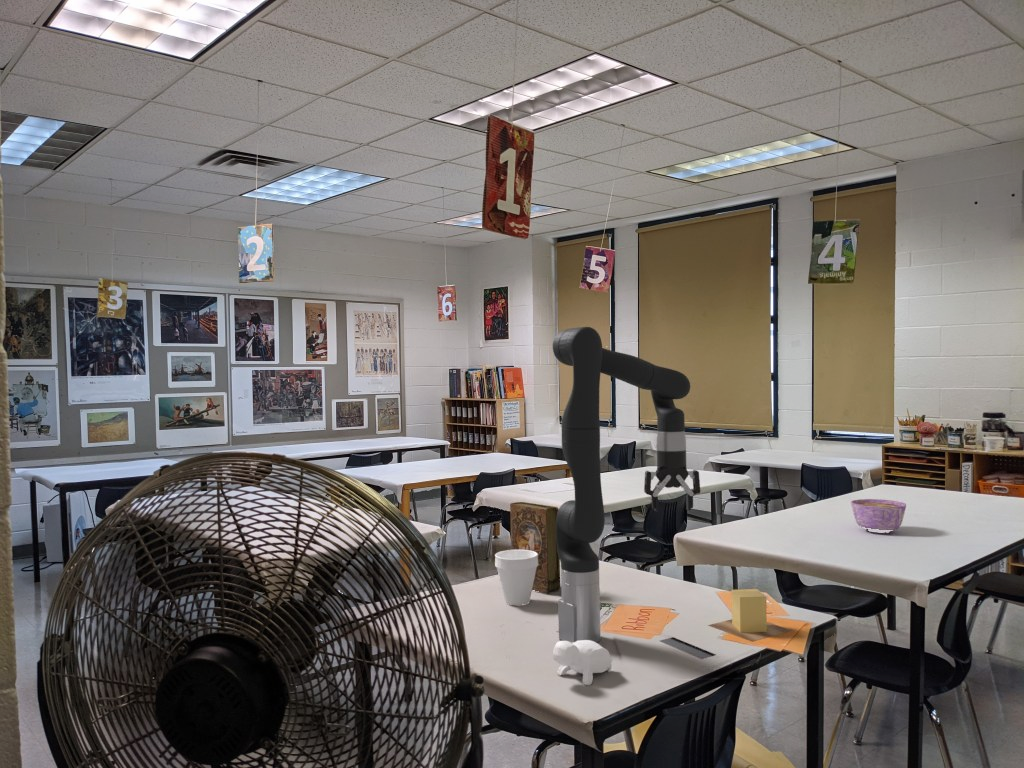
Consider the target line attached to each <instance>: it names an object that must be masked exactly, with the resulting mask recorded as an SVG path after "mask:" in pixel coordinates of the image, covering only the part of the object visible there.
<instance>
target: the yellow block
mask: <svg viewBox="0 0 1024 768" xmlns="http://www.w3.org/2000/svg"><path fill="white" fill-rule="evenodd" d="M767 614H768V613H767V596H766V595H765V594H764V593H762V592H761V591H760V590H759V589H758V588H755V589H753V588H752V589H750V588H749V589H747V588H746V589H731V619H732V624H733V625H734V626H735V627H736V628H737V629H738V630H739V631H740V632H767V622H768V619H767V616H768V615H767Z"/></svg>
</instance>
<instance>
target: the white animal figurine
mask: <svg viewBox="0 0 1024 768" xmlns="http://www.w3.org/2000/svg"><path fill="white" fill-rule="evenodd" d="M552 660H554V661H555V662H556V663H558V664H559V665H560V666H559V668H558V669H557V671H556V674H557V676H560V677H562V676H561V675H563V676H564V675H566V674H567V672H568V671H570V670H573V672H576V673H580V674H582V683H583V685H586V686H590V685H592V683H593V679H594V678H593V677H594V675H593V674H601V673H603V672H606V671H607V672H608V673H611V671H612V662H613V661H614V659H613V658H612V656H611V654H610V651H609V650H608V649H607V648H605V647H603V646H602V645H601V644H599V642H597V643H596V642H594V641H590V640H581V641H579V640H578V641H576V642H572V643H571V642H569V641H562V640H559V641H557V642H556V643H555V645H554V648H553V651H552Z"/></svg>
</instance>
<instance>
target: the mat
mask: <svg viewBox="0 0 1024 768" xmlns="http://www.w3.org/2000/svg"><path fill="white" fill-rule="evenodd" d="M659 642H661V643H663V644H665V645H668V646H670V647H672V648H675V649H677V650H680V651H682V652H684V653H686V654H689V655H691V656H694V657H695V658H698V659H701V660H703V659H707V658H710V657H714V656H717V654H716V653H713V652H711V651H708V650H706V649H703V648H700V647H698V646H696V645H693V644H691V643H689V642H685V641H684V640H681V639H679V638H676V637H674V636H672V637H669V638H668V637H667V638H665V639H661V640H659Z"/></svg>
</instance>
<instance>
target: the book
mask: <svg viewBox="0 0 1024 768" xmlns="http://www.w3.org/2000/svg"><path fill="white" fill-rule="evenodd" d="M509 510H510V515H509V516H510V550H530V551H534V552H536V553H537V554H538V566H537V568H536V572H535V577H534V582H533V587H532V590H535V591H534V592H536V591H539V592H538V593H540V592H542V593H541V594H545V593H546V594H548V593H549V592H553V591H558V590H560V589H561V561H560V559H559V556H558V552H557V539H556V516H557V513H558V510H559V507H558V506H553V505H547V504H540V503H539V504H538V503H534V502H525V501H517V502H511V503H510V505H509Z"/></svg>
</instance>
